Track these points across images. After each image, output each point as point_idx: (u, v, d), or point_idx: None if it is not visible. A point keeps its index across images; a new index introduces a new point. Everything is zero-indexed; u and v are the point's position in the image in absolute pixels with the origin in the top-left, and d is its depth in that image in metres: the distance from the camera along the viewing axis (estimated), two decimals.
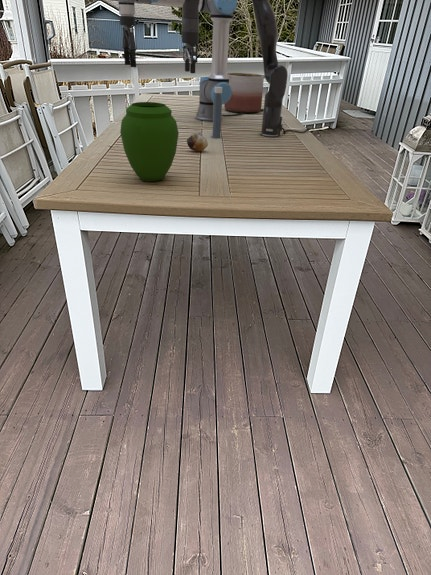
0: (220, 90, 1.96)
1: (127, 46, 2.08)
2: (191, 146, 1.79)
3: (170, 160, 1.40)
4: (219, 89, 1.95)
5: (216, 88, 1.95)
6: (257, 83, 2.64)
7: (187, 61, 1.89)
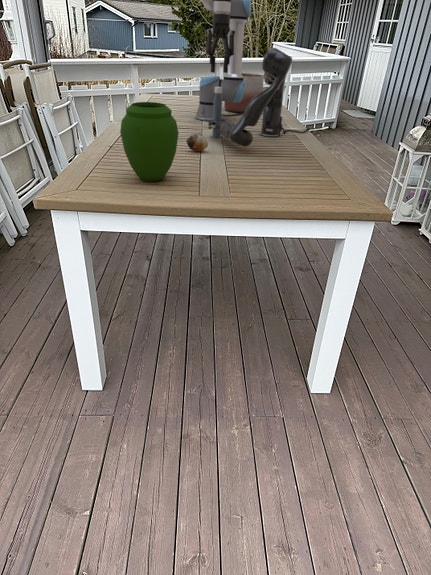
0: (220, 90, 1.96)
1: (226, 51, 1.89)
2: (191, 146, 1.79)
3: (170, 160, 1.40)
4: (219, 89, 1.95)
5: (216, 88, 1.95)
6: (257, 83, 2.64)
7: (213, 123, 2.03)
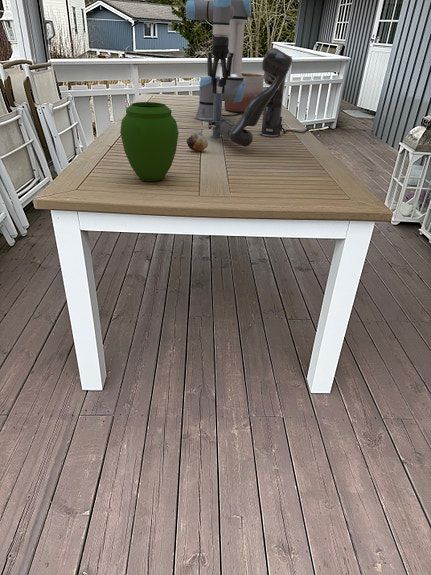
0: (220, 90, 1.96)
1: (223, 72, 1.93)
2: (191, 146, 1.79)
3: (170, 160, 1.40)
4: (219, 89, 1.95)
5: (216, 88, 1.95)
6: (257, 83, 2.64)
7: (213, 123, 2.03)
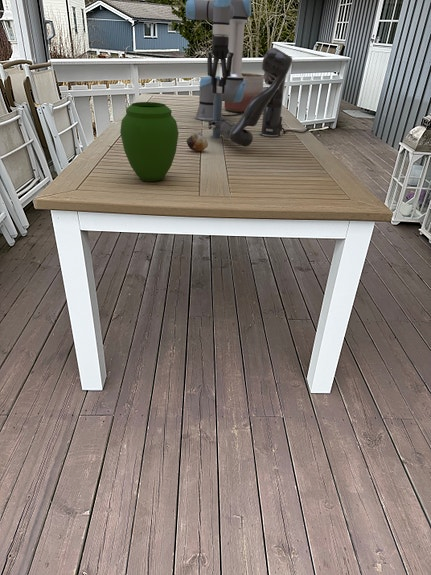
0: None
1: (223, 72, 1.93)
2: (191, 146, 1.79)
3: (170, 160, 1.40)
4: None
5: (221, 88, 1.96)
6: (257, 83, 2.64)
7: (213, 123, 2.03)
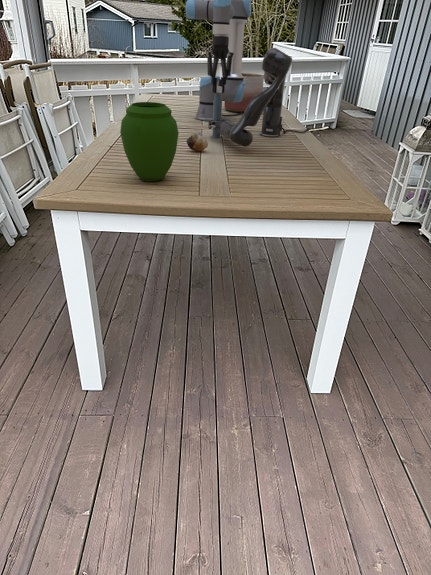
0: None
1: (223, 71, 1.93)
2: (191, 146, 1.79)
3: (170, 160, 1.40)
4: None
5: None
6: (257, 83, 2.64)
7: (213, 123, 2.03)
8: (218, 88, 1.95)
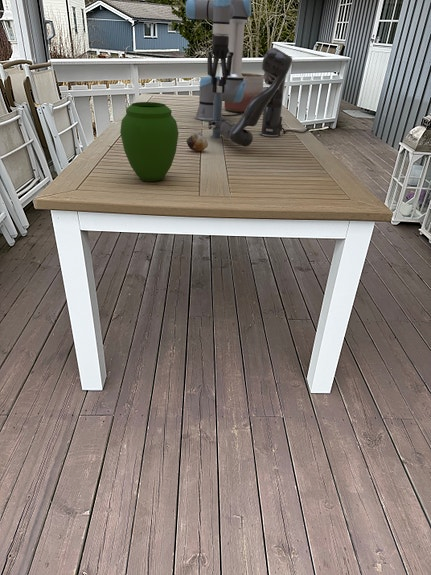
0: None
1: (223, 71, 1.93)
2: (191, 146, 1.79)
3: (170, 160, 1.40)
4: None
5: None
6: (257, 83, 2.64)
7: (213, 123, 2.03)
8: None
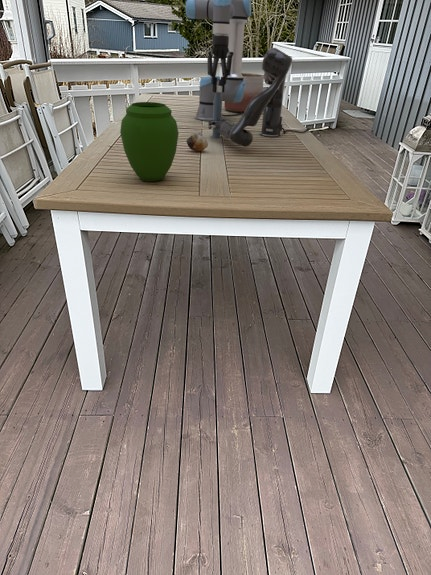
0: (220, 89, 1.96)
1: (223, 71, 1.93)
2: (191, 146, 1.79)
3: (170, 160, 1.40)
4: (219, 88, 1.95)
5: None
6: (257, 83, 2.64)
7: (213, 123, 2.03)
8: None
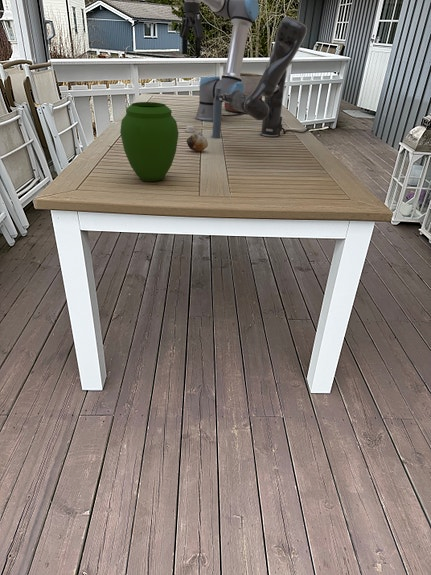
0: None
1: (186, 34, 1.99)
2: (191, 146, 1.79)
3: (170, 160, 1.40)
4: None
5: (192, 128, 2.16)
6: (257, 83, 2.64)
7: None
8: None
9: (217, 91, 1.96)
